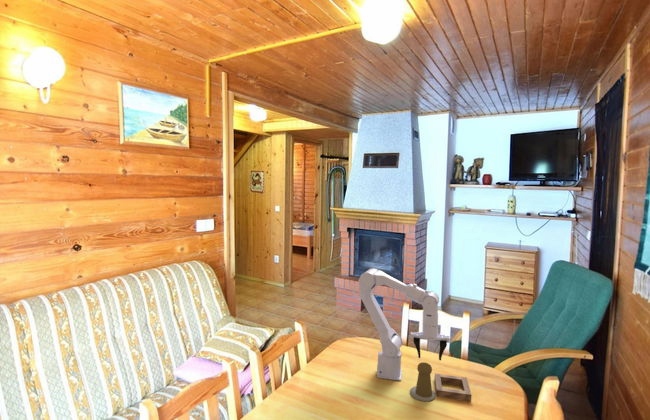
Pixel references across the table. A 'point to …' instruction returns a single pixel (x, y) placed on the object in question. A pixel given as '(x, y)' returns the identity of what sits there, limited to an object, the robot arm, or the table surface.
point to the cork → (424, 380)
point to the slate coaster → (420, 396)
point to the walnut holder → (452, 393)
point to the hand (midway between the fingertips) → (429, 358)
